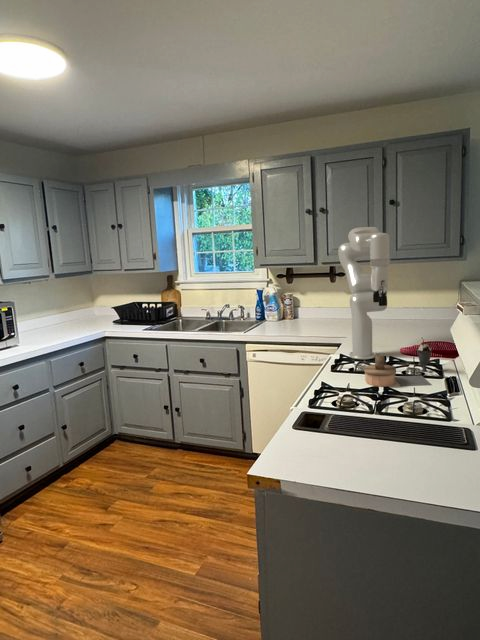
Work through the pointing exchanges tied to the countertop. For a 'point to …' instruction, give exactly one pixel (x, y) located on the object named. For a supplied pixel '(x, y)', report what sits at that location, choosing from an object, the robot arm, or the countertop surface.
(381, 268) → the robot arm
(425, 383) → the mat
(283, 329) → the countertop surface
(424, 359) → the sundae
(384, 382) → the bowl
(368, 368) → the lid
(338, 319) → the countertop surface
